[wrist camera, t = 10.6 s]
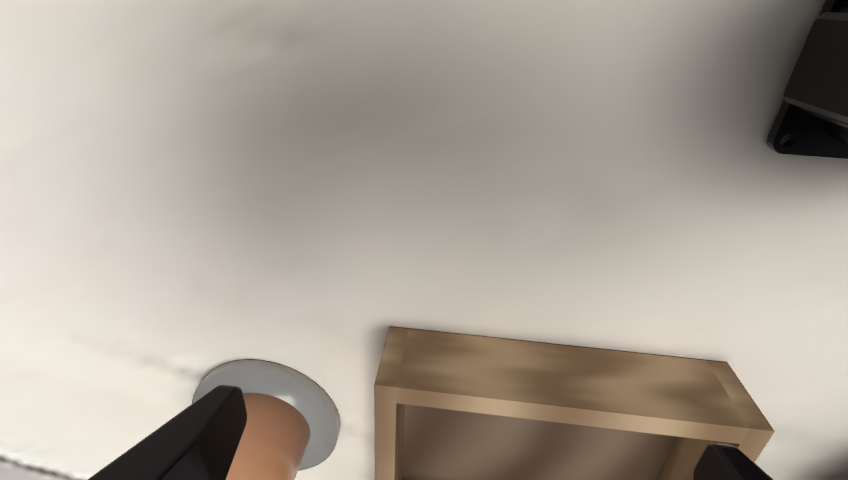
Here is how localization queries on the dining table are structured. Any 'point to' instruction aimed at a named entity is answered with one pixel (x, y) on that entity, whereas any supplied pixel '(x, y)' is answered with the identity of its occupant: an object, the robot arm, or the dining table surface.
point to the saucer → (291, 390)
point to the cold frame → (551, 411)
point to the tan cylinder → (270, 440)
